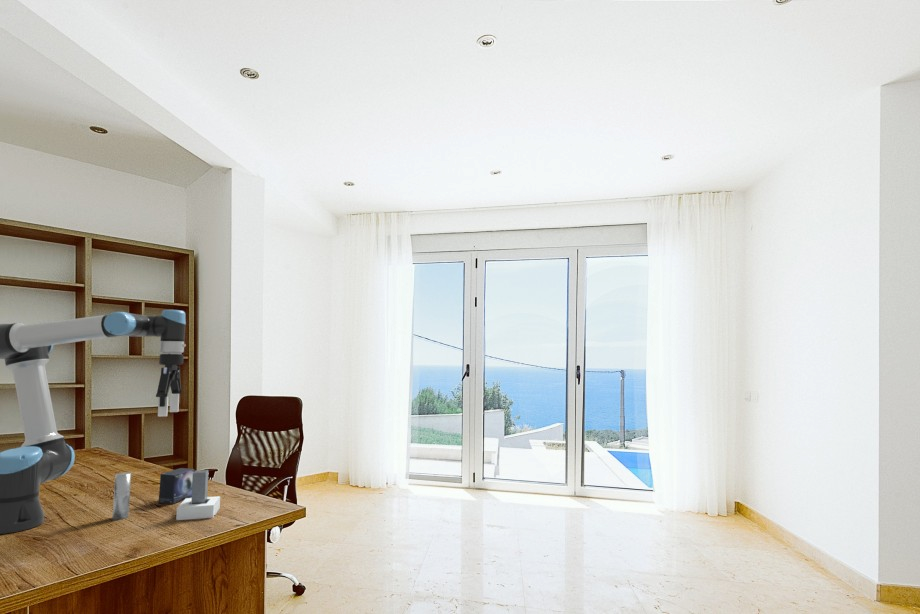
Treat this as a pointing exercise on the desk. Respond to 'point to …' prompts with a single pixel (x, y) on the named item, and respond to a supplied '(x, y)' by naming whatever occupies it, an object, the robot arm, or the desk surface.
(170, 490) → the small box
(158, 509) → the desk surface
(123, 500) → the round bit
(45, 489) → the desk surface
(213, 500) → the socket block
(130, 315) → the robot arm
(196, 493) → the square bit
